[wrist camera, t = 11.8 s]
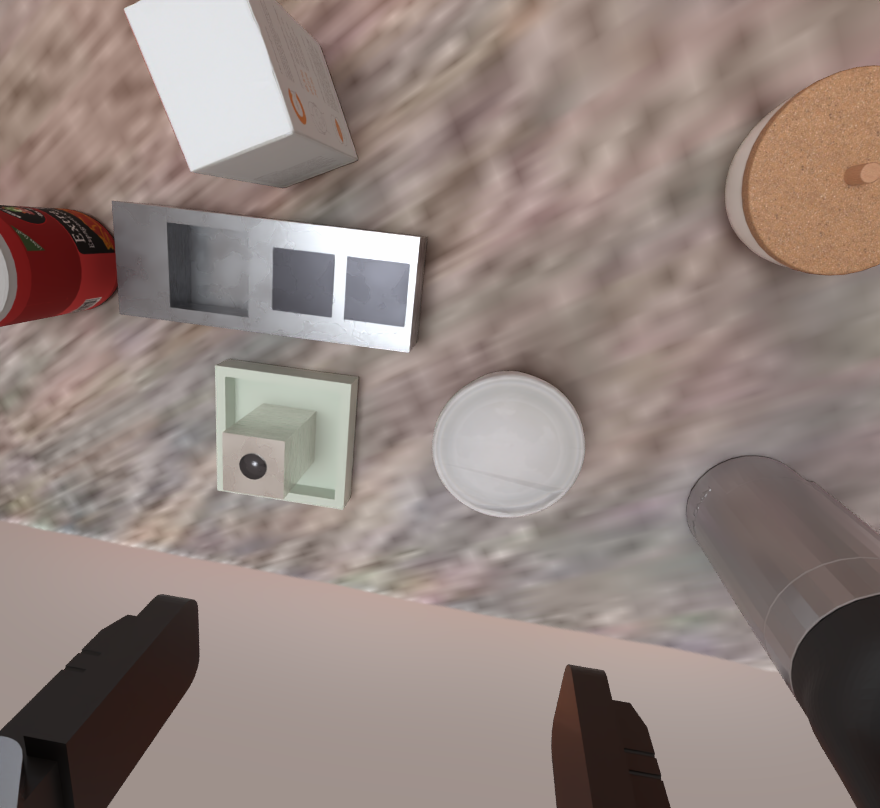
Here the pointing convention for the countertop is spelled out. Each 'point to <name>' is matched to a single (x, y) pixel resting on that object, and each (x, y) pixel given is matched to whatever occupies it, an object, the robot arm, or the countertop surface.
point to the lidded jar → (813, 178)
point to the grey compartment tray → (269, 275)
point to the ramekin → (508, 445)
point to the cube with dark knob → (268, 450)
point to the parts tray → (303, 389)
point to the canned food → (52, 263)
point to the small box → (243, 89)
